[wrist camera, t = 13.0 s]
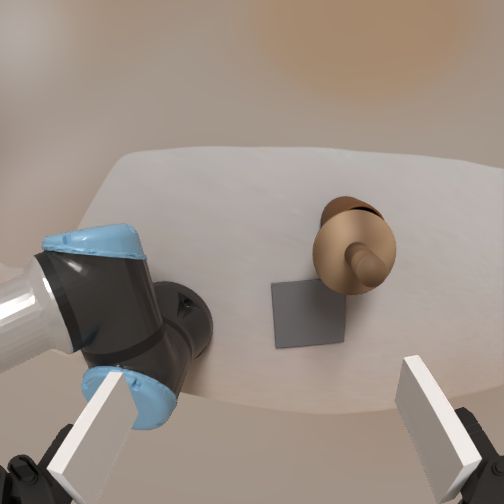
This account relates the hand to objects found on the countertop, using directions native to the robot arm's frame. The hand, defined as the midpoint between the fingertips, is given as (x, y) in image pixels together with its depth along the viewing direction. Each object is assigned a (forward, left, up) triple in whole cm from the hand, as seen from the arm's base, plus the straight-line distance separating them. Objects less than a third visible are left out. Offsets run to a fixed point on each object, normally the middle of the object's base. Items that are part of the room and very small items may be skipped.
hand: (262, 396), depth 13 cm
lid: (+11, -2, -27) cm, 30 cm away
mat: (+6, -15, -37) cm, 40 cm away
